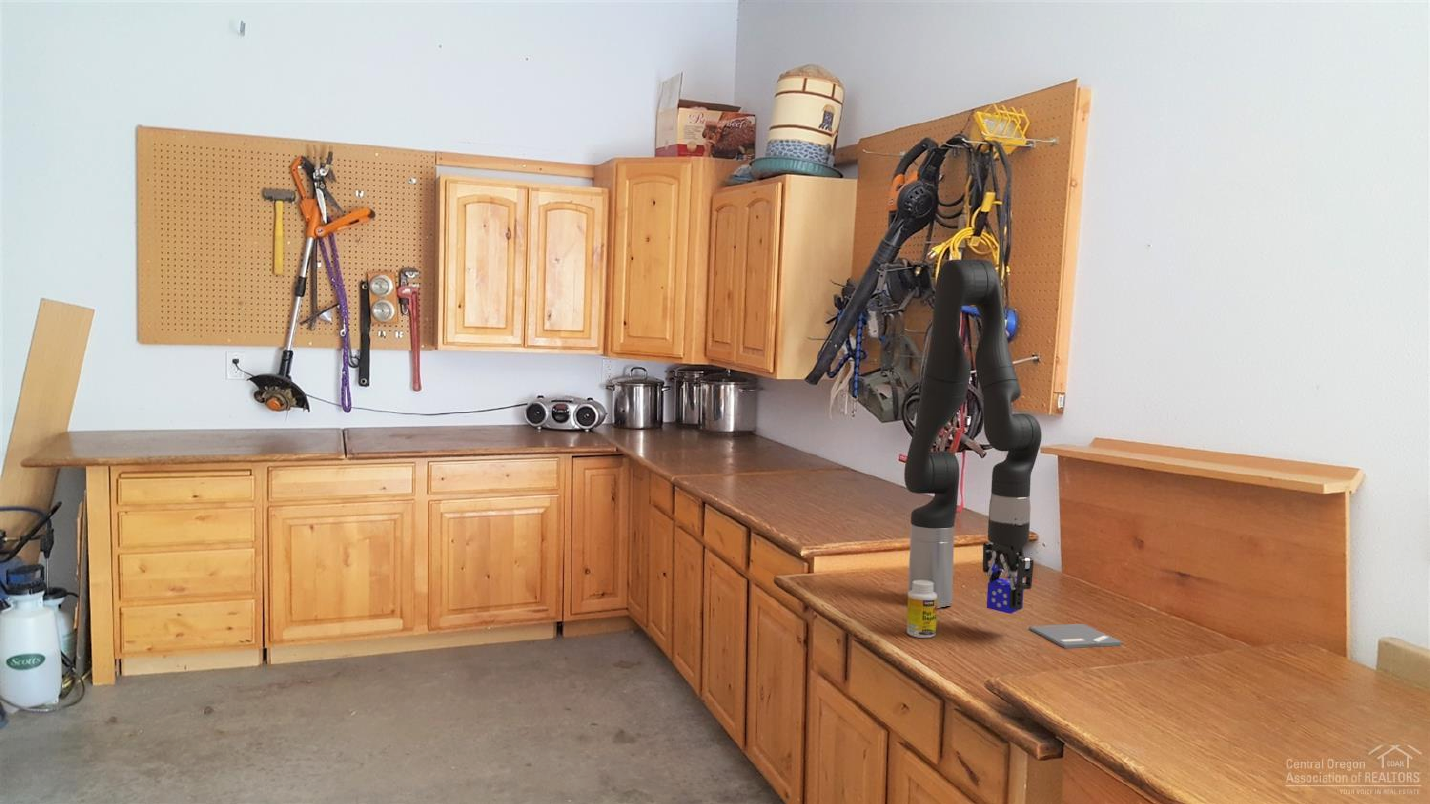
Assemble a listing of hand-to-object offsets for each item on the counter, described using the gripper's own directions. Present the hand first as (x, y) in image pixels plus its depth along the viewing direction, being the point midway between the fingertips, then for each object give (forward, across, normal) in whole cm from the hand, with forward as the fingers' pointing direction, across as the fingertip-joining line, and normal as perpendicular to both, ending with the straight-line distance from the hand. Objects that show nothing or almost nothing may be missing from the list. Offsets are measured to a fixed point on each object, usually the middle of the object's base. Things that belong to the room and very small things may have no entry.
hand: (1004, 603), depth 174 cm
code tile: (+6, +3, +13) cm, 15 cm away
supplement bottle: (+7, -3, -16) cm, 17 cm away
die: (+1, 0, 0) cm, 1 cm away
